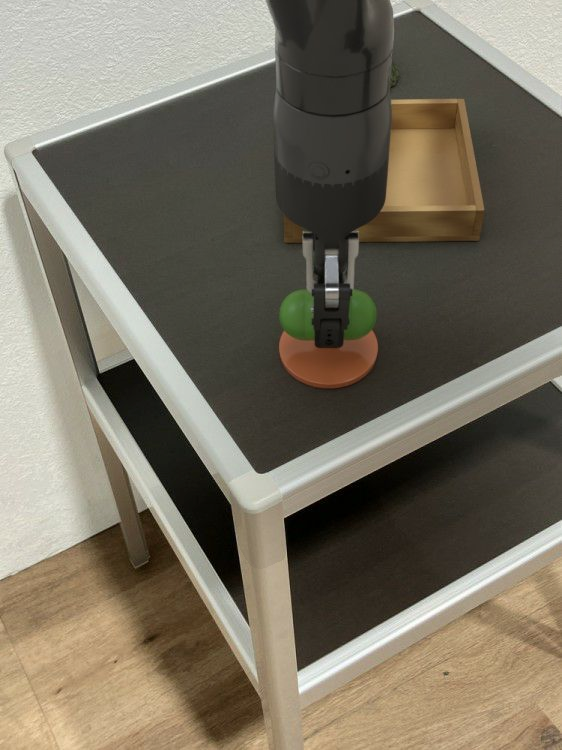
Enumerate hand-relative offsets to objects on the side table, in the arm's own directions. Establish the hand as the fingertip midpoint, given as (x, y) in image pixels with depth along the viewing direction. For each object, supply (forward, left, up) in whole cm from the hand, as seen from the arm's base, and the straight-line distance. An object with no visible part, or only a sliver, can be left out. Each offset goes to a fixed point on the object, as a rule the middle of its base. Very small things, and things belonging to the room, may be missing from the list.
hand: (328, 321), depth 76 cm
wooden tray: (-5, -21, -3) cm, 22 cm away
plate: (0, 0, -3) cm, 3 cm away
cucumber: (0, 0, -1) cm, 1 cm away
